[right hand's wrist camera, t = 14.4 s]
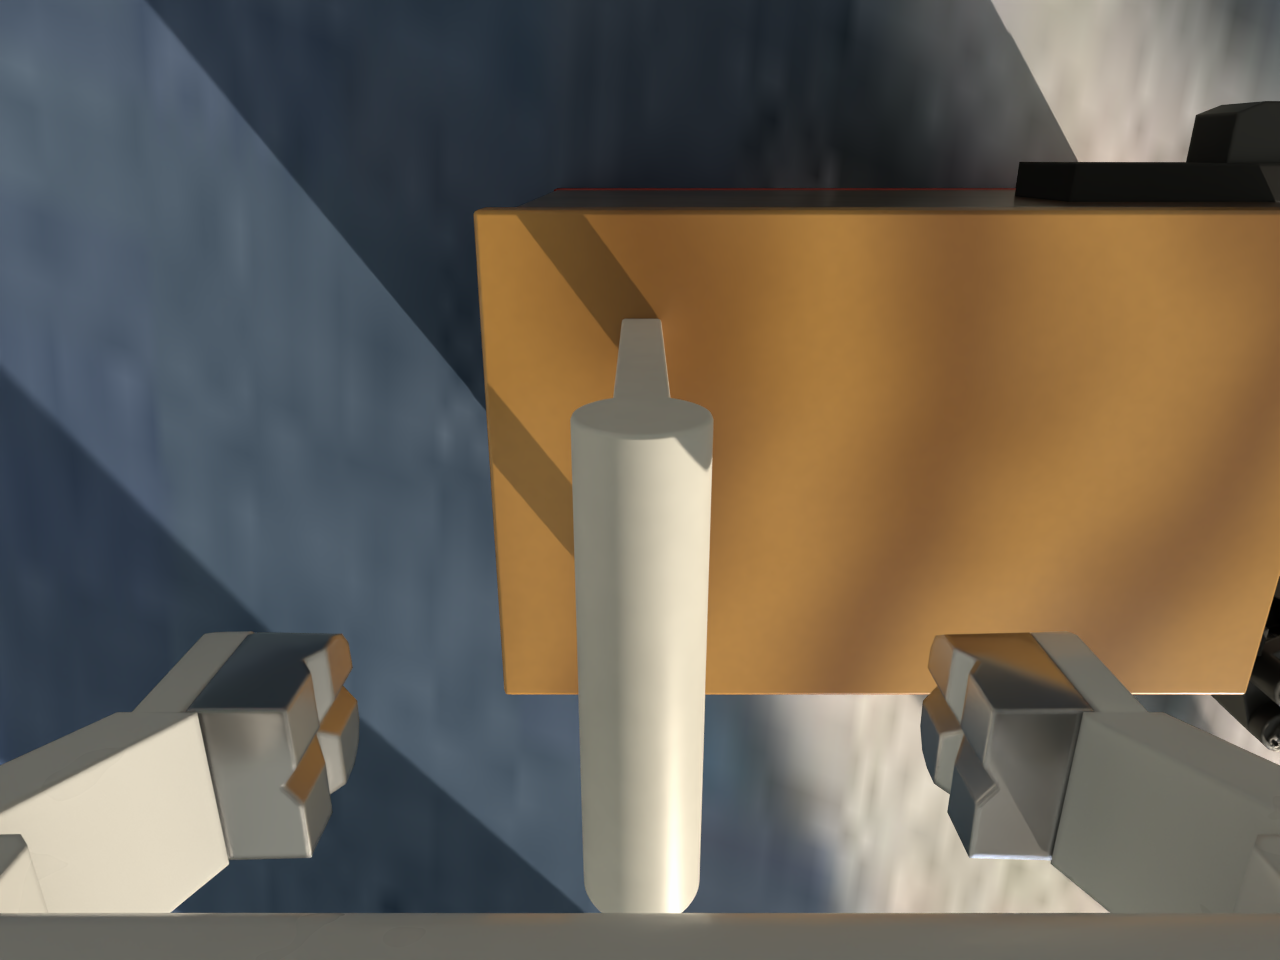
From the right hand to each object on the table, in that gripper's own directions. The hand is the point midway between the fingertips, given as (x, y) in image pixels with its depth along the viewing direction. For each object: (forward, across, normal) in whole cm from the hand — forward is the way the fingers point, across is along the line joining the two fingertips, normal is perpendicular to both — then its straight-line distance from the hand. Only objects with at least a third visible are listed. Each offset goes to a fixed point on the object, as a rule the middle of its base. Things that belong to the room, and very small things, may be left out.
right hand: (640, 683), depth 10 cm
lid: (+8, +5, 0) cm, 9 cm away
